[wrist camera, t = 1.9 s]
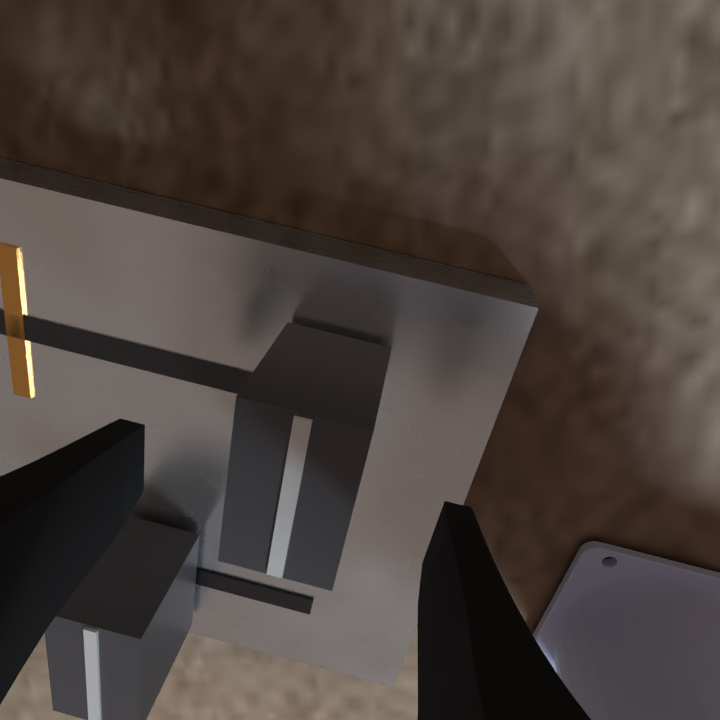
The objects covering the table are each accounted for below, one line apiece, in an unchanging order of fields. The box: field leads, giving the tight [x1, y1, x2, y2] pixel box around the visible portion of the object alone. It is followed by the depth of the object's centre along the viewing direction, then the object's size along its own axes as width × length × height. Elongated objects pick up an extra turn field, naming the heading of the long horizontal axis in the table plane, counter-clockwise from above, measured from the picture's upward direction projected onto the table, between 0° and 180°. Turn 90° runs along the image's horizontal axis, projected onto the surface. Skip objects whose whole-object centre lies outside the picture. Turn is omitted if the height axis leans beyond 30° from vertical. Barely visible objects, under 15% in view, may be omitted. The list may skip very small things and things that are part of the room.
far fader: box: [45, 516, 200, 720], centre depth 19 cm, size 3×5×4 cm, turn 169°
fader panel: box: [0, 158, 539, 687], centre depth 19 cm, size 18×17×2 cm
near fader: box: [218, 322, 392, 591], centre depth 14 cm, size 3×5×4 cm, turn 168°
